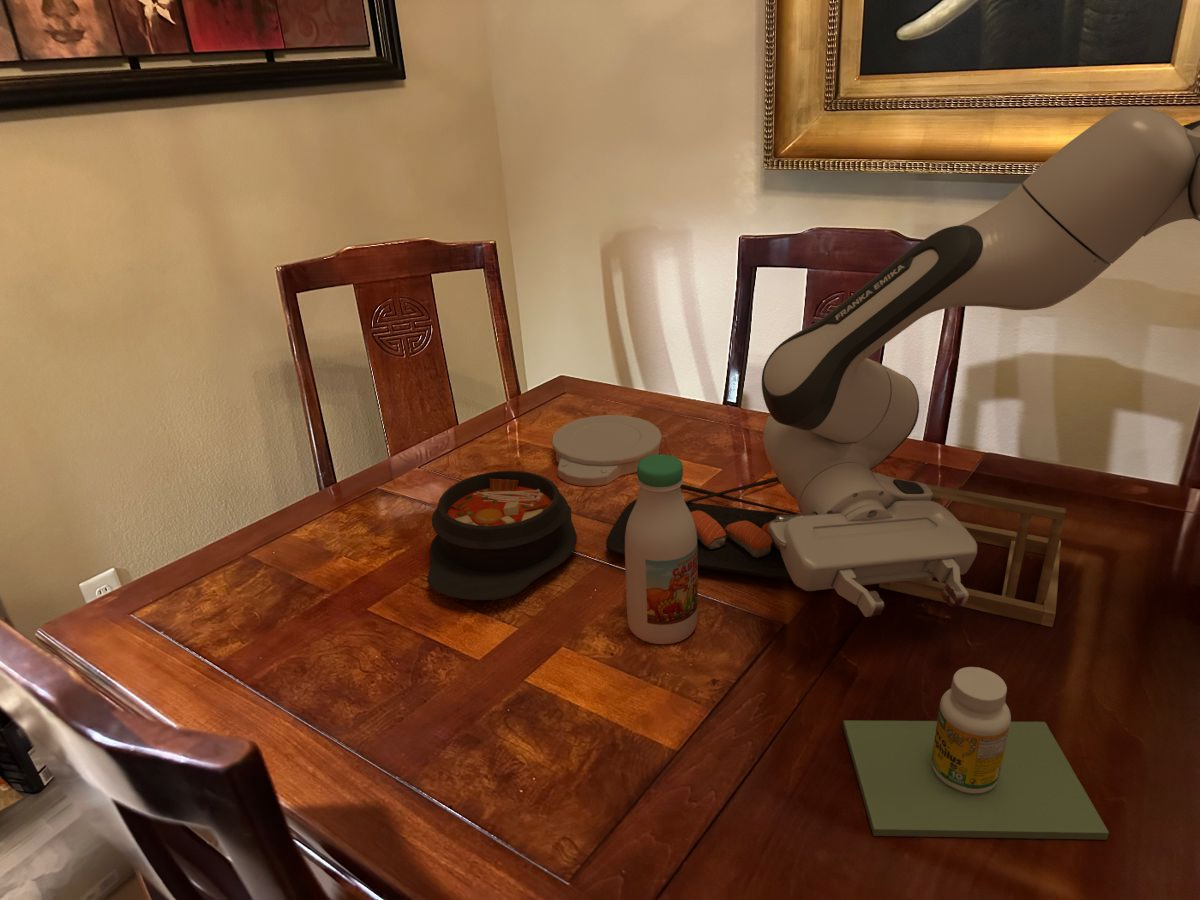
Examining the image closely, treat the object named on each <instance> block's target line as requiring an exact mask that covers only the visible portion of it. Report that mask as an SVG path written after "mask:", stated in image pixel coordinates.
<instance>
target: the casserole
mask: <svg viewBox="0 0 1200 900" xmlns="http://www.w3.org/2000/svg"><path fill="white" fill-rule="evenodd" d="M431 526H432V528H433V531H434V532H435V534H436V535H435V536H434V537H433V539H432V541H431V542H430V547H429V560H430V566H429V569H428V573H427V578H426V582H427V584H428V586H429V588H430V589H432V590H434V591H435V592H437V593H439V594H442V595H445V596H447V597H449V598H450V597H451V598H455V599H460V600H468V601H494V600H499V599H505V598H510V597H512V596H515V595H517V594H519V593H520V592H522V591H523V590H525V589H526V588H527V587H529V585H531V584H532V583H533V582H534V581H535V580H537V579H538V578H540V577H542V576H544V575H545V574H547V573H548V572H550V571H552V570H554V569H556V568H558V567H559V566H560V565H561V564H563V563H564V562H565V561H567V560H568V558H569V557H570V556H571V555H572V553H573V552H574V550H575V548H576V545H577V543H578V534H577V532H576V529H575V526H574V523H573V521H572V508H571V506H570V505H569V503H568V501H567V499H566V498H565V496H564V495H563V494H562V493H560V490H559V488H558V486H557V485H556V484H555V483H554V482H553V481H551V479H549V478H547V477H545V476H543V475H540V474H538V473H533V472H529V471H522V470H521V471H520V470H497V471H490V472H485V473H479V474H476V475H473V476H470V477H467V478H465V479H462V480H460V481H458V482H456V483H454V484H453V485H451V486H450V487H449V488H447V489H446V490H445V491H444V492H443V493H442V495H441V496H440V497H439V500H438V502H437V507H436V508H435V509H434V511H433V514H432V516H431Z"/></svg>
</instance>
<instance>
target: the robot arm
mask: <svg viewBox="0 0 1200 900" xmlns="http://www.w3.org/2000/svg"><path fill="white" fill-rule="evenodd" d="M1182 220H1183V221H1184V220H1195V221H1198V222H1200V119H1199V120H1195V121H1193V122H1190V123H1187V124H1184V125H1182V124H1181V123H1180V122H1179V121H1177V120H1176V119H1175V118H1174V117H1172V116H1170V115H1168V114H1166V113H1165V112H1162V111H1159V110H1157V109H1154V108H1149V107H1145V106H1126V107H1122V108H1119V109H1116V110H1114V111H1112V112H1110V113H1109V114H1107V115H1106V116H1104V117H1103V118H1101V119H1099V120H1098V121H1097V122H1094V123H1093V124H1092V125H1091V126H1089V127H1088V128H1086V129H1085V130H1084V131H1082V132H1081V133H1079V134H1078V135H1077V136H1076V137H1074V138H1073V139H1071V140H1070V141H1069V142H1068V143H1067V144H1065V145H1064V146H1063V147H1061V149H1059V150H1058V151H1056V152H1055V153H1054V154H1053V155H1051V156H1050V157H1049V158H1048V159H1047V160H1046V161H1045V162H1043V164H1041V165H1040V166H1039V167H1038V168H1036V169H1035V170H1034V171H1033V172H1032V173H1031V174H1030V175H1029V176H1028V177H1027V178H1026V179H1025V180H1024V181H1023V182H1022V183H1021V184H1020V185H1018V186H1017V187H1016V188H1015V189H1014V190H1013V191H1011V193H1009V194H1008V195H1007V196H1006V197H1004V198H1003V199H1002V200H1001V201H999V202H998V203H997V204H995V205H994V206H992V207H991V208H989V209H987V210H986V211H984V212H982V213H981V214H979V215H977V216H975V217H974V218H972V219H970V220H968V221H966V222H964V223H961V224H959V225H958V224H957V225H954V226H948V227H945V228H942V229H940V230H938V231H936V232H934V233H933V234H931V235H929V236H927V237H926V238H924V239H923V240H922V241H920V242H918V243H917V244H915V245H914V246H913V247H911V248H910V249H909V250H908V251H906V252H905V253H903V254H902V255H900V257H898V258H897V259H896V260H895V261H893V262H892V263H891V264H890V265H888V266H887V267H885V268H884V269H883V270H882V271H880V272H879V273H878V274H877V275H876V276H874V277H873V278H871V280H869V281H868V282H866V283H865V284H864V285H862V286H861V287H860V288H859V289H858V290H857V291H855V292H854V293H852V295H850V296H849V297H848V298H847V299H845V300H844V301H842V303H840V304H839V305H837V306H836V307H835V308H834V309H833V310H831V311H830V312H828V313H827V314H826V315H824V316H823V317H822V318H821V319H819V320H817V321H815V322H814V323H812V324H811V325H809V326H807V327H804V328H803V329H800V331H798V332H796V333H794V334H792V335H791V336H789V337H787V338H786V339H785V340H784V341H781V343H780V344H779V345H777V346H776V348H774V350H773V351H772V352H771V353H770V354H769V357H768V358H767V360H766V362H765V364H764V366H763V369H762V375H761V392H762V397H763V400H764V403H765V406H766V409H767V410H768V412H769V416H768V418H767V420H766V422H765V424H764V427H763V431H762V443H763V449H764V453H765V456H766V458H767V461H768V462H769V465H770V467H771V469H772V470H773V472H774V474H775V477H778V479H779V481H778V482H780V484H781V486H782V487H783V489H784V490H785V491H786V492H787V494H788V495H789V496H791V497H792V498H794V499H795V500H796V504H797V507H798V510H799V513H800V514H796V515H793V514H790V515H780V516H777V517H776V519H775V520H773V521H771V522H770V523H769V526H768V529H769V533H770V535H771V537H772V538H773V540H774V541H775V543H776V544H777V545H779V546H780V552H781V555H782V558H783V561H784V564H785V566H786V568H787V571H788V573H789V575H790V577H791V579H792V581H791V582H793V584H794V585H795V586H796V587H798V588H800V589H801V590H802V591H805V592H814V591H823V590H833V589H834V590H835V592H836V593H837V595H838V596H840V597H842V598H843V599H845V600H846V601H848V602H850V603H852V604H853V605H855V606H857V607H858V609H859V610H860V612H861V614H862V615H863V617H865V618H871V617H876V616H881V615H882V612H883V610H884V609H885V602H884V600H883V599H882V598H881V597H880V594H879V593H878V591H877V590H868V589H867V588H865V587H864V586H870V585H876V584H877V585H879V583H889V582H898V581H907V580H916V579H926V578H933V579H934V578H936V580H937V582H941V583H945V584H946V586H945V590H943V592H942V594H941V597H942V598H943V599H944V600H945V601H946V602H947V603H946V605H948V606H949V607H950V608H952V607H962V606H961V605H965V603H966V601H967V599H968V598H969V593H968V591H967V590H966V589H965V588H966V587H965V586H964V585H963V583H961V581H962V579H961V575H962V576H963V575H965V574H966V573H968V571H969V570H970V568H971V567H972V565H973V563H974V561H975V559H976V557H977V554H978V542H976V541H975V540H974V538H973V537H972V536H971V535H970V533H969V532H968V531H967V530H966V529H965V527H964V526H963V525H962V524H961V523H960V522H959V519H957V517H956V516H955V515H954V514H953V513H952V512H951V511H950V510H949V509H947V508H946V507H945V506H944V505H942V504H941V503H940V504H938V503H936V502H933V501H931V498H932V495H933V493H932V491H931V490H930V488H929V487H928V486H927V485H925V484H926V483H923V482H918V481H912V480H906V479H902V478H901V479H900V478H895V477H892V476H888V475H886V474H882V473H880V472H874V471H873V472H872V470H874V469H875V468H876V467H878V466H879V465H880V464H882V463H883V462H884V461H885V460H886V459H887V458H889V456H891V455H892V454H893V453H894V452H895V451H896V450H897V449H898V448H899V447H900V446H901V445H902V444H904V442H905V441H906V440H907V439H908V438H909V437H910V435H911V434H912V432H913V430H914V429H915V427H916V424H917V422H918V418H919V415H920V414H919V413H920V399H919V394H918V391H917V387H916V385H915V383H914V382H913V381H912V380H911V379H910V378H909V377H907V376H906V375H903V374H902V373H900V372H898V371H895V370H894V369H893V368H890V367H888V366H885V365H884V364H882V363H880V362H878V361H875V360H873V359H870V358H868V357H870V356H871V355H873V354H875V352H877V351H878V350H879V349H881V348H882V347H884V346H885V345H886V344H888V343H889V342H890V341H892V340H893V339H895V337H897V336H898V335H900V334H901V333H903V331H905V330H906V329H907V328H909V327H911V326H912V325H913V324H914V323H916V322H917V321H918V320H920V319H922V318H923V317H926V316H928V315H930V314H932V313H935V312H937V311H941V310H944V309H950V308H951V309H952V308H957V307H958V308H960V307H985V308H995V309H996V308H997V309H1002V310H1003V309H1004V310H1009V311H1010V310H1011V311H1035V310H1042V309H1047V308H1050V307H1051V308H1052V307H1054V306H1055V305H1057V304H1059V303H1061V302H1063V301H1065V300H1066V299H1068V298H1070V297H1072V296H1073V295H1076V294H1077V293H1079V292H1080V291H1082V290H1083V289H1084V288H1085V287H1087V286H1088V285H1089V284H1090V283H1092V282H1093V281H1094V280H1095V279H1097V278H1098V277H1099V276H1100V275H1101V274H1103V273H1104V272H1105V270H1107V269H1109V267H1110V266H1111V264H1114V263H1115V262H1116V261H1117V260H1119V259H1120V258H1121V257H1122V256H1123V255H1124V254H1125V253H1126V252H1127V251H1129V250H1130V249H1131V248H1132V247H1133V246H1134V245H1135V244H1136V243H1137V242H1139V241H1140V239H1142V238H1143V237H1144V238H1145V237H1147V236H1148V235H1149V234H1151V233H1153V232H1154V231H1156V230H1158V229H1159V228H1162V227H1164V226H1166V225H1169V224H1171V223H1174V222H1178V221H1182Z"/></svg>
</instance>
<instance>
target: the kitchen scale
mask: <svg viewBox="0 0 1200 900" xmlns="http://www.w3.org/2000/svg"><path fill="white" fill-rule="evenodd" d="M662 441H663V436H662V432H661V430H660V428H658V427H657V426H656V425H655V424H654V423H652V422H651V421H648V420H646V419H643V418H640V417H635V416H631V415H624V414H623V415H622V414H599V415H591V416H586V417H582V418H578V419H576V420H572V421H570V422H567V423H565V424H564V425H562V426H561V427H559V428H558V429H557V430H556V431H555V433H554V434H553V435H552V437H551V443H552V445H551V446H552V449H553V450H554V451H555V460H556V462H557V463H558V466H557V477H558V478H559V479H561V480H562V481H564V482H565V483H566V484H567V483H568V484H571V485H575V486H578V487H600V486H607V485H609V484H610V483H612V482H613V481H615V480H617V479H618V478H620V477H622V476H626V475H630V474H635V473H636V474H637V465H638V462H639V461H640V460H641V459H643V458H645V457H647V456H650V455H657V454H660V446H661V444H662Z"/></svg>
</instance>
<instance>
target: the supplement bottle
mask: <svg viewBox="0 0 1200 900" xmlns="http://www.w3.org/2000/svg"><path fill="white" fill-rule="evenodd" d="M1007 693H1008V687H1007V684H1006V682H1005V681H1004V679H1002V677H1001V676H1000V675H998V674H996V673H995V672H993V671H991V670H989V669H986V668H982V667H978V666H977V667H976V666H966V667H962V668H959V669H957V671H956V672H955V673H954V674H953V676H952V681H951V684H950V688H949V689H948V690H946V691H945V692H944V693H943V695H942V696H941V698H940V701H939V706H938V713H937V714H938V715H937V719H936V721H937V727H936V732H935V738H934V745H933V751H932V759H931V764H932V767H933V770H934V772H935V773H936V775H937V776H938V777H939V778H940V779H941V780H942V781H943V782H944V783H945V784H947V785H949V786H951V787H953V788H955V789H957V790H959V791H962V792H966V793H974V794H976V793H983V792H986V791H989V790H991V789H992V788H993V787H994V786H995V785H996V784H997V782H998V780H999V776H1000V772H1001V767H1002V762H1003V757H1004V752H1005V747H1006V742H1007V737H1008V733H1009V728H1010V723H1011V722H1012V721H1011V720H1012V716H1011V715H1012V714H1011V710H1010V708H1009V706H1008V705H1007V703H1006V699H1007V698H1006V697H1007Z"/></svg>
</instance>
